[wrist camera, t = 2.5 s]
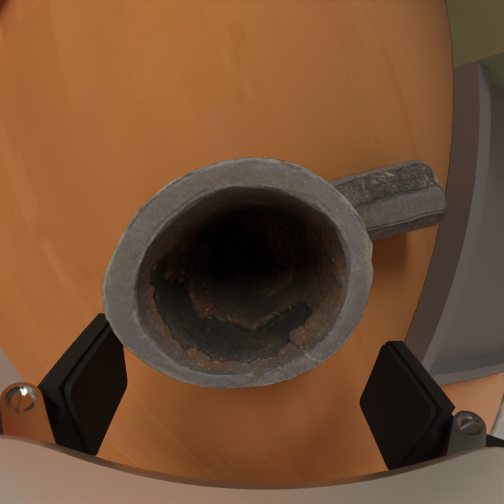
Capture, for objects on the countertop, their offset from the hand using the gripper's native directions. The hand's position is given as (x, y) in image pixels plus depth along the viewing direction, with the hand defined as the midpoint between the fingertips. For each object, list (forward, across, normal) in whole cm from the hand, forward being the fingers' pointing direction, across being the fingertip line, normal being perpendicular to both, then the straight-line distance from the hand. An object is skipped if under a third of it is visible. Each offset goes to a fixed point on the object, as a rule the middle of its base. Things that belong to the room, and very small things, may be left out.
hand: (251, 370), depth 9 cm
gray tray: (+6, -18, -5) cm, 20 cm away
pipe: (+6, -2, -5) cm, 8 cm away
